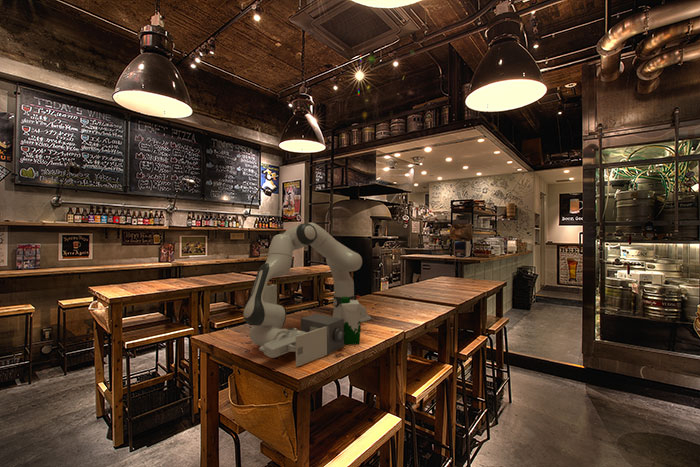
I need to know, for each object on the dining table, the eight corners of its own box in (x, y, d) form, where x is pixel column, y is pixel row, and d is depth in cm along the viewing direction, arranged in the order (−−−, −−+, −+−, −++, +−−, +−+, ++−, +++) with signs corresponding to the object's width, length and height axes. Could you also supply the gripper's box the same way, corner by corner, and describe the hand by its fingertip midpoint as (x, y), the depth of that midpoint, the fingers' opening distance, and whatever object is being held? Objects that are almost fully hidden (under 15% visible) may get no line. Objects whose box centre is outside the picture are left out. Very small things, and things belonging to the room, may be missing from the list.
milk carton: (340, 339, 144) (339, 295, 144) (359, 338, 145) (358, 295, 145) (341, 345, 135) (340, 299, 135) (361, 345, 136) (361, 299, 136)
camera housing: (300, 346, 136) (299, 318, 136) (316, 339, 144) (316, 313, 144) (331, 355, 125) (330, 325, 125) (347, 347, 133) (347, 319, 133)
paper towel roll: (263, 326, 166) (263, 286, 165) (263, 323, 171) (263, 284, 171) (277, 325, 167) (277, 285, 167) (277, 321, 173) (276, 283, 173)
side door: (298, 367, 114) (297, 336, 114) (295, 366, 115) (295, 335, 114) (329, 354, 125) (329, 326, 125) (327, 353, 126) (327, 325, 126)
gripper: (256, 340, 117) (279, 348, 109) (297, 326, 133) (320, 333, 125) (256, 356, 117) (280, 366, 109) (297, 341, 133) (321, 349, 125)
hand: (302, 348), depth 117 cm, fingers closed
